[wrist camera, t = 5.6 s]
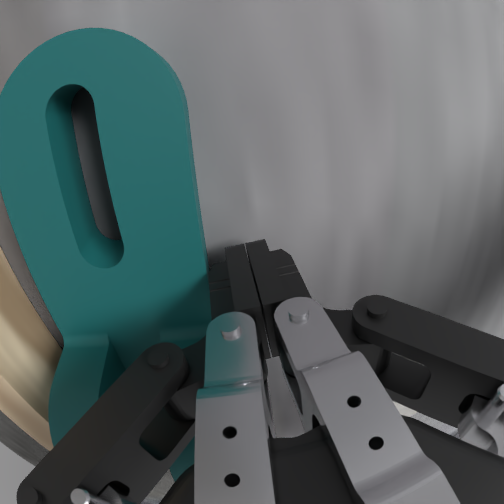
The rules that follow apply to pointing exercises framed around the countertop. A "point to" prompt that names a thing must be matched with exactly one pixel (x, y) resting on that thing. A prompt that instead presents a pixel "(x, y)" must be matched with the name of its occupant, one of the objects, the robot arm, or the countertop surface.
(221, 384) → the robot arm
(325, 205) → the countertop surface
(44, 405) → the batten
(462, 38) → the countertop surface
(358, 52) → the countertop surface
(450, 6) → the countertop surface
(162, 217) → the bracket
